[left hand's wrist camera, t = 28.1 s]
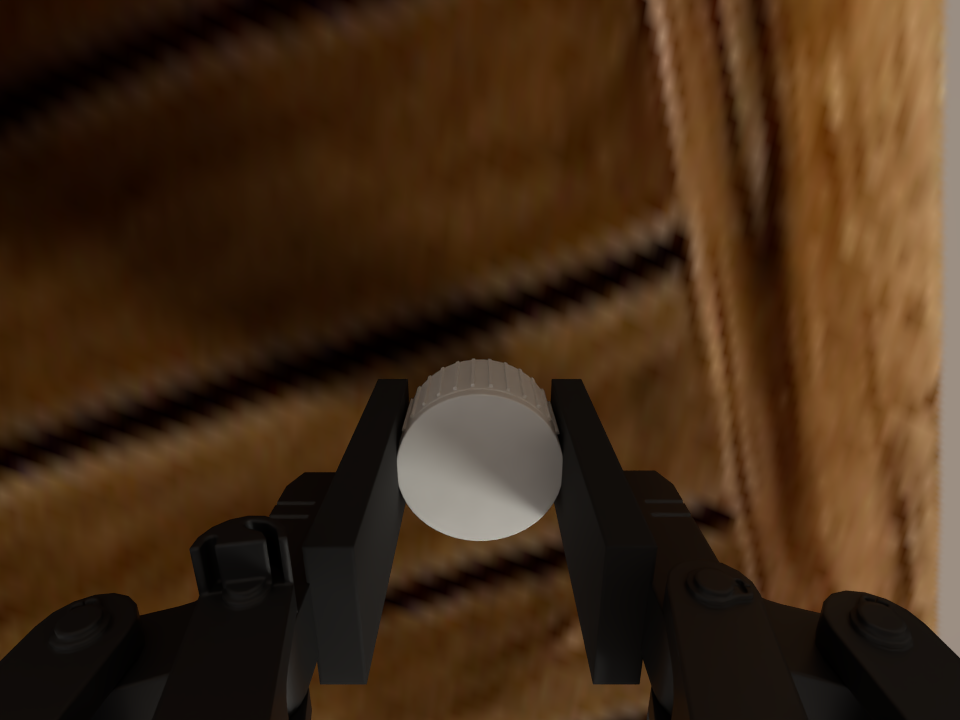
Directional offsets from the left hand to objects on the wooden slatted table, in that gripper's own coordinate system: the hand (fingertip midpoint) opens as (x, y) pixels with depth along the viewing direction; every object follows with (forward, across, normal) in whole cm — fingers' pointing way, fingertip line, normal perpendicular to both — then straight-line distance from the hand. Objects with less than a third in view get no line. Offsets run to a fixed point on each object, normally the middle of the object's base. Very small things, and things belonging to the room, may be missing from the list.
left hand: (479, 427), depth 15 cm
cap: (-2, 0, 0) cm, 2 cm away
